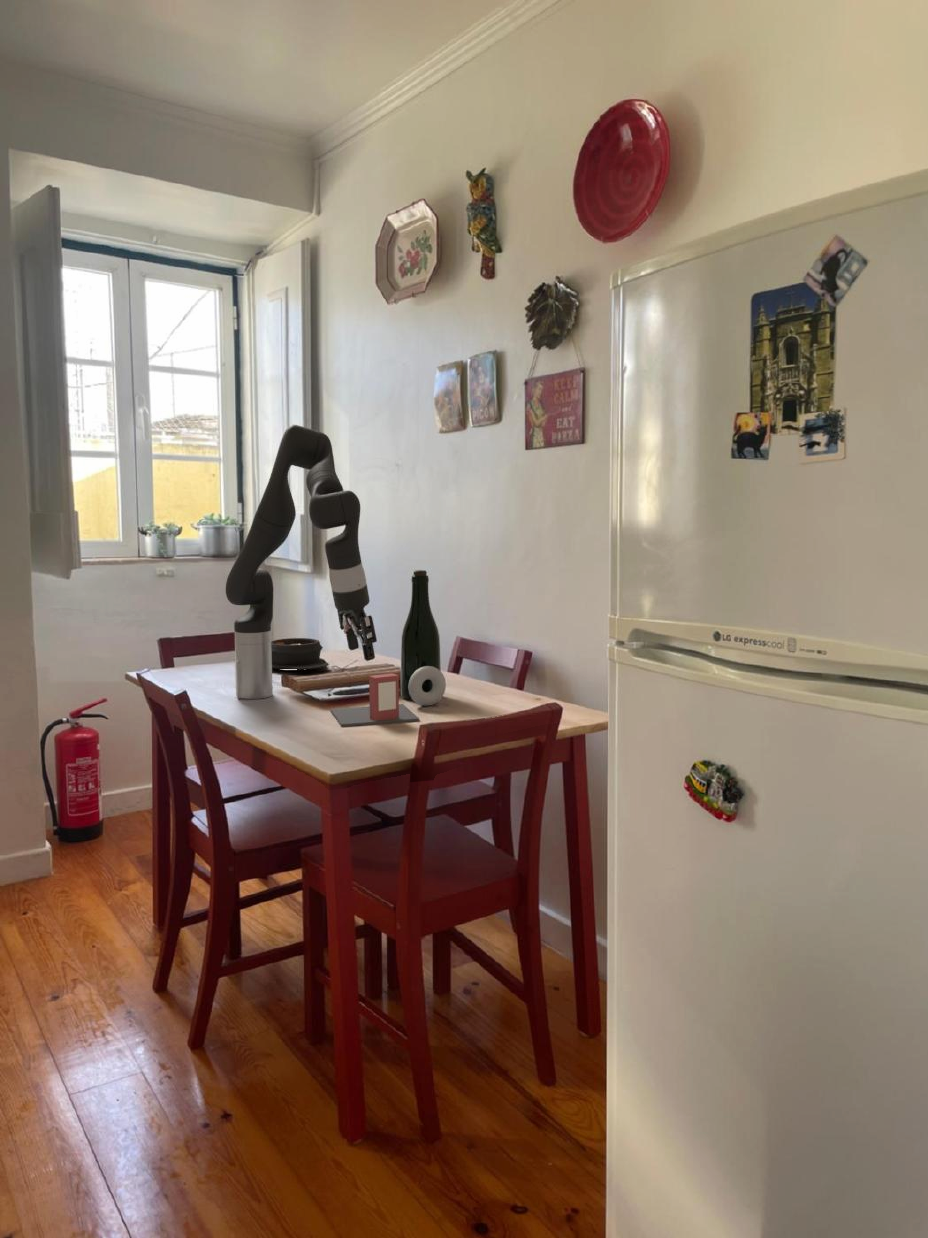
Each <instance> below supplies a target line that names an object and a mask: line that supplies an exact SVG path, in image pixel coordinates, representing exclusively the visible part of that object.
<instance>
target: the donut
mask: <svg viewBox="0 0 928 1238" xmlns="http://www.w3.org/2000/svg"><path fill="white" fill-rule="evenodd" d="M427 679H429V680H431V681H432V684H433V687H432V689H431V690H430V691H429V692H427V693H426V692H424V691H423V690H422V684H423V682H424V681H425V680H427ZM446 687H447V683H446V678H445V675H444V673H443V672H442V670H441V671H440V670H439V669H437V668H435V667H433V666H424V667H421V668H419V669H418V670H416V671H415V672H414V673H413V674H412V676H411V678H410V680H409V686H408V689H409V694H410V696H411V698H412V699H413V700H412V701H414V702H415V703H416V704H418V705H419V706H422V707H426V706H427V707H429V706H433V705H435V704H437V703H438V702H440V701H441V699H442V698H443V696H444V694H445V691H446Z"/></svg>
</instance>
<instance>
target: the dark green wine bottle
mask: <svg viewBox="0 0 928 1238" xmlns="http://www.w3.org/2000/svg"><path fill="white" fill-rule="evenodd" d="M427 574H428V572H427V570H426V569H425V570H423V569H417V570H414V571H413V575H411V579H410V580H411V602H410V607H409V611H408V614H407V618H406V620H405V623H404V626H403V629H402V633H401V641H400V643H401V644H400V695H401V697H402V698H403V699H405V700H408V701H414V700H413V699H412V698H411V696H410V694H409V689H408V686H409V680H410V678H411V676H412V674H413V673H414V672H415V671H416V670H418V669H419V668H421V667H424V666H433V667H435V668H437V669H439V670H440V671H441V672H442V665H441V664H442V663H441V662H442V660H441V659H442V658H441V657H442V656H441V638H440V636H441V635H440V633H439V628H438V625H437V623H436V620H435V617H434V614H433V612H432V608H431V604H430V603H431V601H430V594H429V581H430V578H429V575H427ZM432 687H433V684H432V681H431V680H429V679H427V680H425V681H424V682H423V684H422V690H423V691H424V692H426V693H427V692H429V691H430V690H431V689H432Z"/></svg>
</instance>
